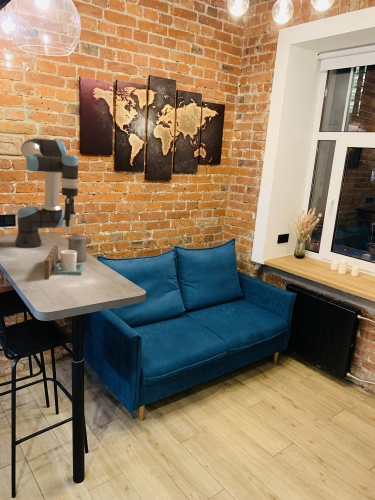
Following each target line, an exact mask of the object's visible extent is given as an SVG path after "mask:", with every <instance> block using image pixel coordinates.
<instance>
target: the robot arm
mask: <svg viewBox="0 0 375 500" xmlns="http://www.w3.org/2000/svg"><path fill="white" fill-rule="evenodd" d="M20 151H21V154H22V155H23V157H24V158H25V169H26V170H27V171H28V172H33V173H35V172H40V173H42V172H43V173H44V204H43V205H41V209H39V208H38V207H37V206H26V207H21V208H19V209H18V210H17V216H16V217H17V234H16V236H15V240H14V246H15V247H18V248H24V249H25V248H26V249H27V248H28V249H29V248H37V247H41V246H42V244H43V243H42V239H41V235H40V233H39V229H59V228H62V226H63V225H64V233H65V234H71V229H72V228H75V226H74V225H75V222H74V221H75V220H74V219H75V215H76V212H75V198H74V197H77V196H78V192H79V189H78V187H79V184H80V181H79V157H78V155H76V154H75V155H74V154H67V148H66V144H65V143H64V142H63V141H61V140H57V139H49V138H48V139H46V138H39V137H38V138H36V137H35V138H31V139H27V140H26V141H24V142H23V143H22V145H21V148H20ZM60 191H61V194H60ZM60 195H62V196H65V197H66V198H65V199H64V209H62V208H63V207H62V206H61V205H60V198H61V197H60Z"/></svg>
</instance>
